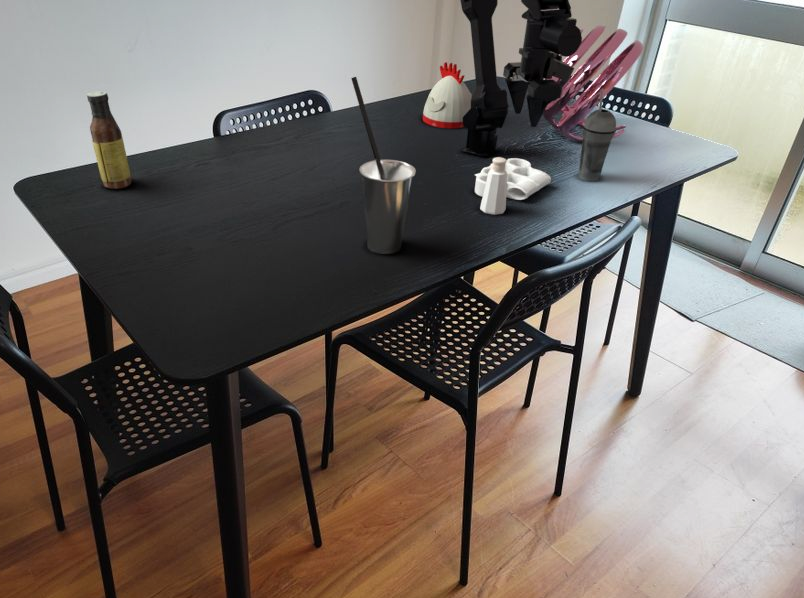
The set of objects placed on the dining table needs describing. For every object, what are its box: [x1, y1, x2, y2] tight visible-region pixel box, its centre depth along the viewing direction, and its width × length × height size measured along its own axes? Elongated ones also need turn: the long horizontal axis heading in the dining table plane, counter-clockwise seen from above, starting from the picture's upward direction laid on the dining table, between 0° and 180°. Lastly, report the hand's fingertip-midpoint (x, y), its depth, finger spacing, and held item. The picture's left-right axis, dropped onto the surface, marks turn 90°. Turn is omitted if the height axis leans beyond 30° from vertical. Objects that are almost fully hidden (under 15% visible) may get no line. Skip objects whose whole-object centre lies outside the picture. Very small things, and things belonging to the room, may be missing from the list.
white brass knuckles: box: [474, 157, 552, 201], centre depth 159 cm, size 3×18×15 cm
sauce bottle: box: [86, 90, 132, 190], centre depth 151 cm, size 7×6×20 cm
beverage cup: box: [578, 89, 617, 182], centre depth 159 cm, size 7×7×20 cm
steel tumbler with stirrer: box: [350, 76, 417, 255], centre depth 127 cm, size 11×11×30 cm
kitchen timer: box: [422, 61, 473, 129], centre depth 193 cm, size 14×14×15 cm
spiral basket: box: [542, 24, 645, 143], centre depth 181 cm, size 28×28×27 cm
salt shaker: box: [479, 156, 508, 216], centre depth 147 cm, size 5×5×11 cm
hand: (525, 120), depth 158 cm, fingers open, 9 cm apart
